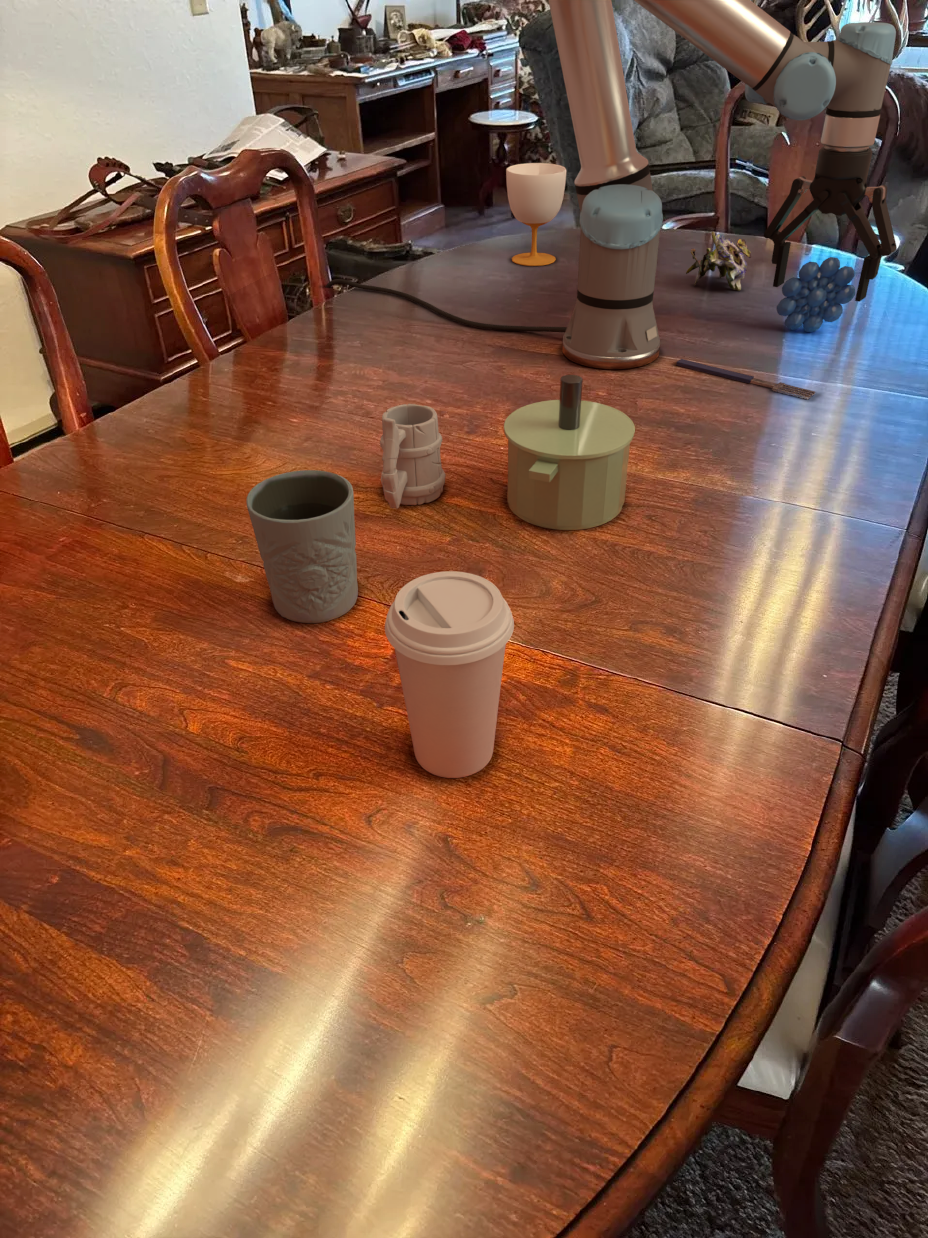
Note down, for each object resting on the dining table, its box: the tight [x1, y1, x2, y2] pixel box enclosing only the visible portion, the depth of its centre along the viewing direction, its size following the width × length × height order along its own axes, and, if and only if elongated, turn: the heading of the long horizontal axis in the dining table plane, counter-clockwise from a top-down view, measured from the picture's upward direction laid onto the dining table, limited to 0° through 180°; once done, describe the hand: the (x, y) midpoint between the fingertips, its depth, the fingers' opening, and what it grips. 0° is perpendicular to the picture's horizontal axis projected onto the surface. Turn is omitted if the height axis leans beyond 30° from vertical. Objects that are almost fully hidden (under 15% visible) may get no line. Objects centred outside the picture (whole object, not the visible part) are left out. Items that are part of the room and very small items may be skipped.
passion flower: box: [685, 231, 752, 292], centre depth 170 cm, size 11×11×12 cm
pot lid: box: [503, 374, 636, 460], centre depth 102 cm, size 15×15×7 cm
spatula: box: [675, 358, 816, 400], centre depth 136 cm, size 21×3×1 cm, turn 51°
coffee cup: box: [384, 570, 515, 779], centre depth 71 cm, size 10×10×15 cm
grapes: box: [776, 256, 856, 333], centre depth 149 cm, size 12×7×12 cm, turn 80°
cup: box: [505, 162, 567, 267], centre depth 184 cm, size 12×12×17 cm
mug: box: [379, 403, 447, 510], centre depth 106 cm, size 8×12×12 cm, turn 162°
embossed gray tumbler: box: [245, 469, 359, 624], centre depth 90 cm, size 10×10×12 cm
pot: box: [506, 439, 631, 531], centre depth 106 cm, size 14×19×9 cm
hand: (818, 291), depth 149 cm, fingers open, 13 cm apart
